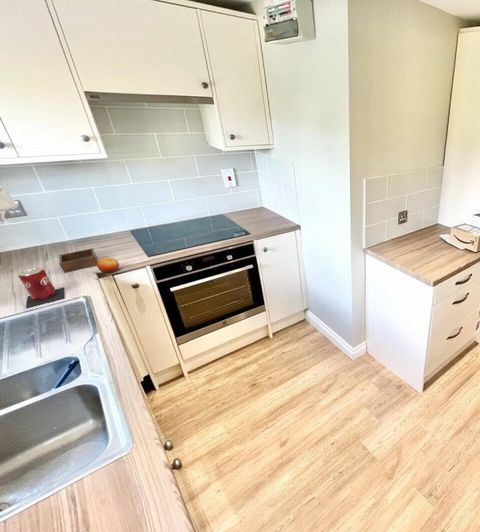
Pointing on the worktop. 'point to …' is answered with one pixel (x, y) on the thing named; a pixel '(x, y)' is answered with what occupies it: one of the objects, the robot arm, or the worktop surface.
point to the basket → (78, 260)
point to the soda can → (37, 284)
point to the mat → (57, 297)
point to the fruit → (107, 265)
